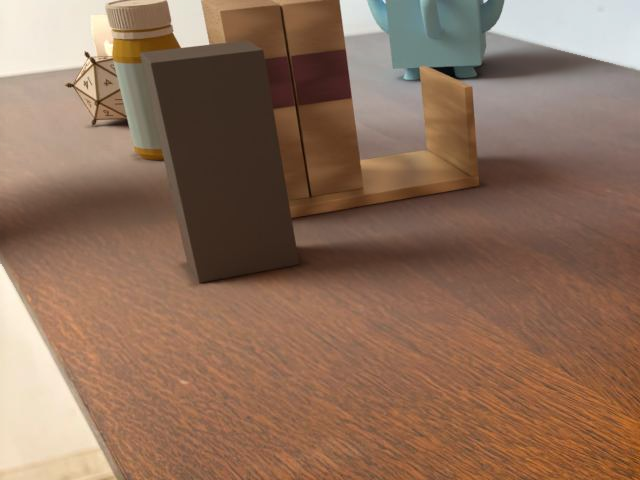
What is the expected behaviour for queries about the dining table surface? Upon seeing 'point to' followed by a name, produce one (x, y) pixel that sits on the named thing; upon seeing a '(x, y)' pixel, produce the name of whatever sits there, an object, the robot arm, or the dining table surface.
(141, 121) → the bottle
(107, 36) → the mug
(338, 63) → the book rack
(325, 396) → the dining table surface
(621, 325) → the dining table surface
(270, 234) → the grey carton
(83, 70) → the game die
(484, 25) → the teakettle
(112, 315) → the dining table surface
